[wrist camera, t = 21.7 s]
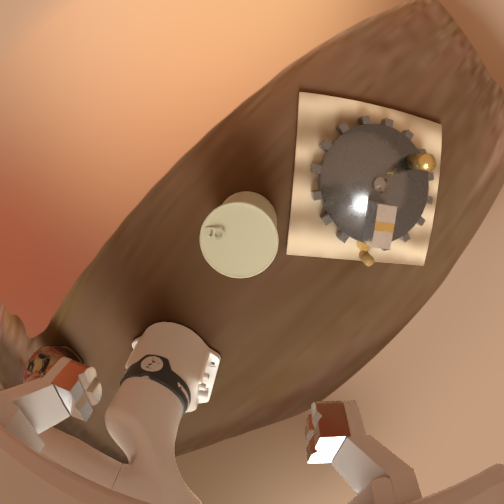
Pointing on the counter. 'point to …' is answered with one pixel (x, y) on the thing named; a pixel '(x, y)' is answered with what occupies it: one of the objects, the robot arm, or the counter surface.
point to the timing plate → (302, 205)
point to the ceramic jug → (47, 361)
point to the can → (240, 235)
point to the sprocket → (372, 178)
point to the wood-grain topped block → (379, 224)
